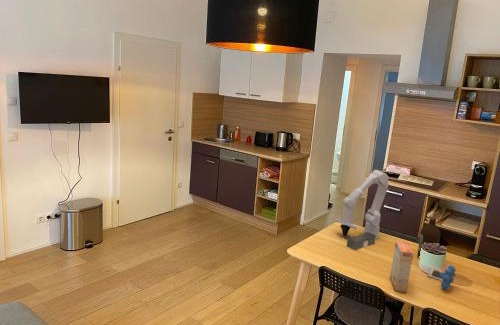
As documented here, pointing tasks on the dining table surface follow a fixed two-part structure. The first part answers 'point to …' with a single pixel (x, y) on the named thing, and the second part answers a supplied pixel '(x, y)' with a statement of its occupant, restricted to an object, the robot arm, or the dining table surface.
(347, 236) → the plug
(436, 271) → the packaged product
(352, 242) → the housing
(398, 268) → the cracker box
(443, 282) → the grapes
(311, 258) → the dining table surface
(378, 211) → the robot arm
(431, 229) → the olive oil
